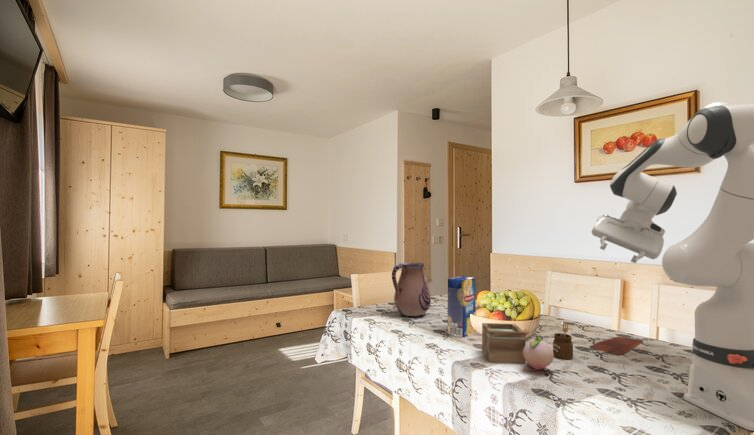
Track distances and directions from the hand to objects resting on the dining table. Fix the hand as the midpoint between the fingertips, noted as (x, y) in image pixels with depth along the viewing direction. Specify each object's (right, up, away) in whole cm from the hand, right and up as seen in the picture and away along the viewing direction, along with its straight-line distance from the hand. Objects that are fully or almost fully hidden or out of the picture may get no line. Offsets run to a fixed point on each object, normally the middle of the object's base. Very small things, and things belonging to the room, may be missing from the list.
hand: (617, 254), depth 122 cm
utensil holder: (-18, -34, +1) cm, 38 cm away
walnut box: (-38, -33, 0) cm, 50 cm away
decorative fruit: (-31, -33, -11) cm, 47 cm away
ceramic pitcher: (-63, -35, +57) cm, 92 cm away
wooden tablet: (+9, -35, +14) cm, 39 cm away
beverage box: (-45, -34, +27) cm, 63 cm away
